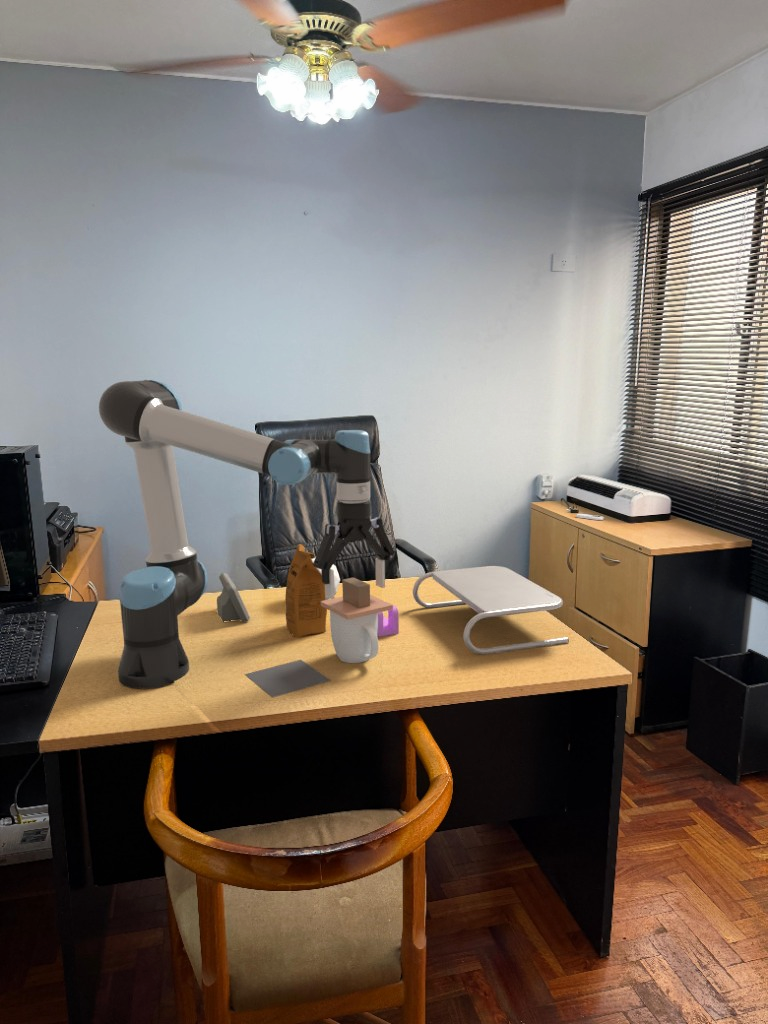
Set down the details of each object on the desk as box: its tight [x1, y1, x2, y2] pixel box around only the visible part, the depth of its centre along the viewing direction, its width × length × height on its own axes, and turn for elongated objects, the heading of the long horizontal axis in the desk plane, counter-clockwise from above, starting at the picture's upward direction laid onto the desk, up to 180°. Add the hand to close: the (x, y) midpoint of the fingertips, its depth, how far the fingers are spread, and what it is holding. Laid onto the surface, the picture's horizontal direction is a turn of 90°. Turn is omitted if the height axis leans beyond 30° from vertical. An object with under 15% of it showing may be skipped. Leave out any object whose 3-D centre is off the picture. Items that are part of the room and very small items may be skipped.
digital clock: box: [216, 572, 251, 623], centre depth 199 cm, size 16×9×11 cm, turn 10°
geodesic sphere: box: [312, 556, 341, 600], centre depth 209 cm, size 14×14×14 cm
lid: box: [321, 577, 394, 620], centre depth 164 cm, size 12×12×6 cm
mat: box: [244, 659, 332, 698], centre depth 158 cm, size 14×14×1 cm
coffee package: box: [285, 543, 328, 638], centre depth 186 cm, size 10×12×22 cm
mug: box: [329, 610, 379, 664], centre depth 166 cm, size 15×11×13 cm
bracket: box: [377, 605, 400, 638], centre depth 189 cm, size 13×6×7 cm, turn 21°
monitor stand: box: [412, 565, 570, 655], centre depth 189 cm, size 37×28×11 cm
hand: (355, 591), depth 164 cm, fingers open, 13 cm apart
